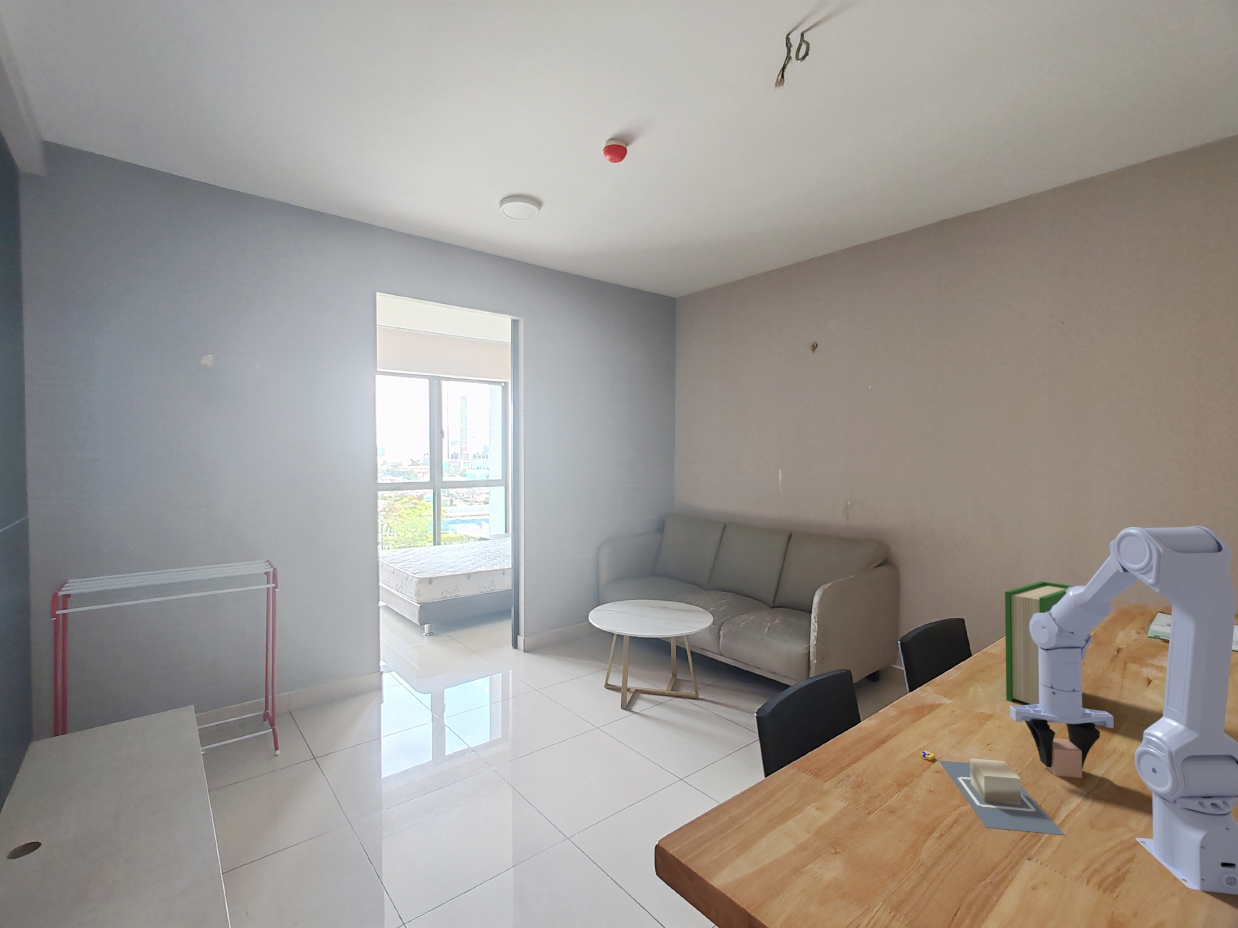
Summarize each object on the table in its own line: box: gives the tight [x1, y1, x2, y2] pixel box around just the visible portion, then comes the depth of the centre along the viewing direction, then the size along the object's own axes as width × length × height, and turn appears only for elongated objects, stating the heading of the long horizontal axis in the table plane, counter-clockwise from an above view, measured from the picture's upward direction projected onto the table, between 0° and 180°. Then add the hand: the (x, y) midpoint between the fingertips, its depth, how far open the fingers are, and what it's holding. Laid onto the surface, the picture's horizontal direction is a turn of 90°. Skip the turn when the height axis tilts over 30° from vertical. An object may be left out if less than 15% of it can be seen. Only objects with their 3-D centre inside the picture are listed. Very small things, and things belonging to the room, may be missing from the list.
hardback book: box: [1004, 580, 1075, 705], centre depth 124 cm, size 18×7×24 cm, turn 122°
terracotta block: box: [1040, 737, 1083, 779], centre depth 94 cm, size 4×4×5 cm
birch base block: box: [969, 758, 1022, 805], centre depth 88 cm, size 5×5×4 cm
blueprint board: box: [938, 760, 1066, 836], centre depth 88 cm, size 18×10×1 cm, turn 169°
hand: (1061, 764), depth 94 cm, fingers closed on terracotta block, 4 cm apart
